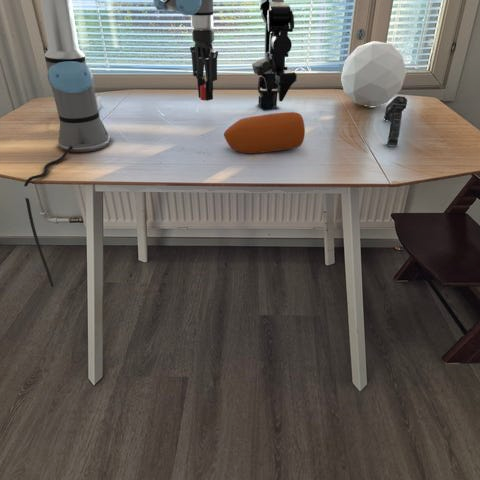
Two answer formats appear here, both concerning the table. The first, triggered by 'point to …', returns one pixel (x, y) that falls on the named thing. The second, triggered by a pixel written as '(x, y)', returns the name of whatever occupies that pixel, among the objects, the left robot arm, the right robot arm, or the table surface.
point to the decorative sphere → (373, 74)
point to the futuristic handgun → (395, 118)
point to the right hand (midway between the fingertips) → (274, 97)
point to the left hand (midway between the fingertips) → (205, 98)
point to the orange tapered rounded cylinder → (266, 133)
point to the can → (203, 92)
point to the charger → (98, 101)
